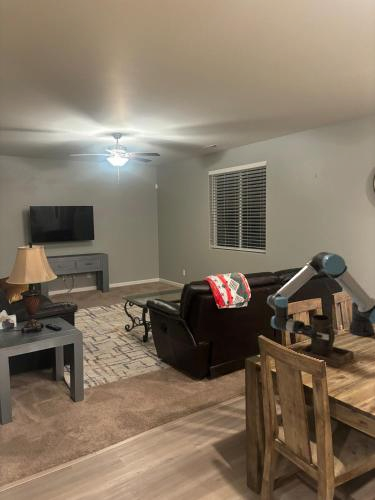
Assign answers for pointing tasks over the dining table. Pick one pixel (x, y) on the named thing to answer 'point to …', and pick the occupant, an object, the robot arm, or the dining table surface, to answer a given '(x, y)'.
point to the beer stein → (323, 326)
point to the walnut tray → (333, 359)
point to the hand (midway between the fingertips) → (333, 335)
